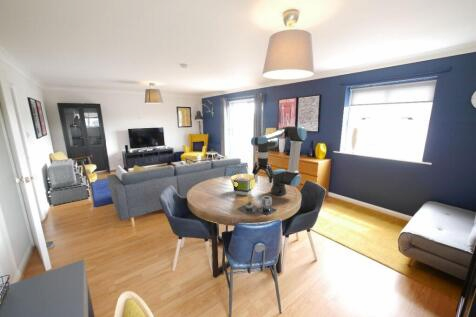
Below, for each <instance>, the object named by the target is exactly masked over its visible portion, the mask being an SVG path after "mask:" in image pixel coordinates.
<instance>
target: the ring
mask: <svg viewBox="0 0 476 317" xmlns="http://www.w3.org/2000/svg"><path fill="white" fill-rule="evenodd" d="M260 198H261V200H260V201H261V203H260V204H261V205H262V206H263V205H264V206H270V207H271V206H272V205H273V198H272V196H269V195H263V196H261V197H260ZM266 198H267V199H266Z"/></svg>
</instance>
